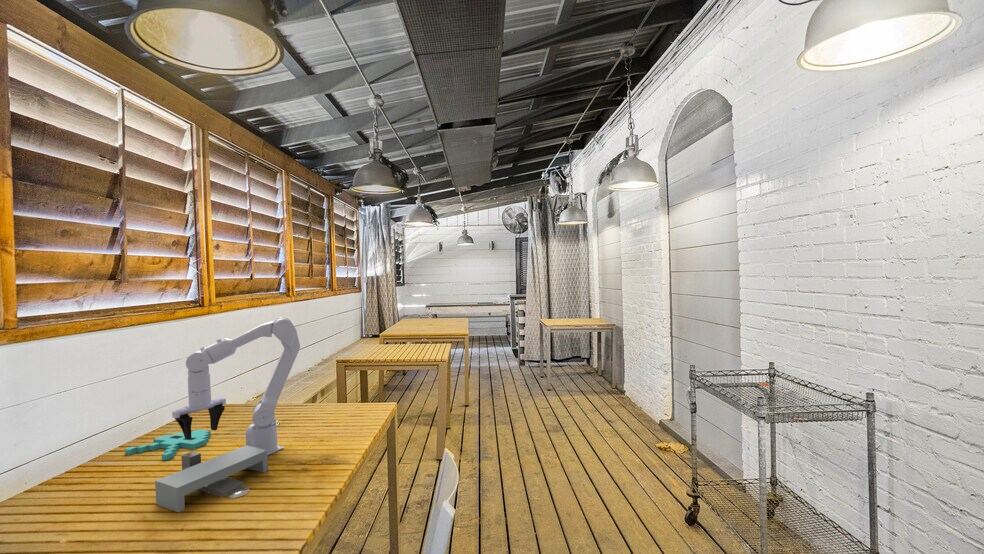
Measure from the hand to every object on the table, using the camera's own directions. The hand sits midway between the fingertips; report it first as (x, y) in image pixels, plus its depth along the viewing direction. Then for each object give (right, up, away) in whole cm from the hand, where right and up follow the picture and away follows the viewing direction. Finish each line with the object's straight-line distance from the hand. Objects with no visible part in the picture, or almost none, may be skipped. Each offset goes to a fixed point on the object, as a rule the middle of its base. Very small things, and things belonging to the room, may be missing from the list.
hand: (201, 434), depth 131 cm
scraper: (+12, -9, -13) cm, 20 cm away
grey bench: (+14, -9, -15) cm, 22 cm away
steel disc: (+23, -9, -19) cm, 31 cm away
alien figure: (-20, -11, +17) cm, 28 cm away
